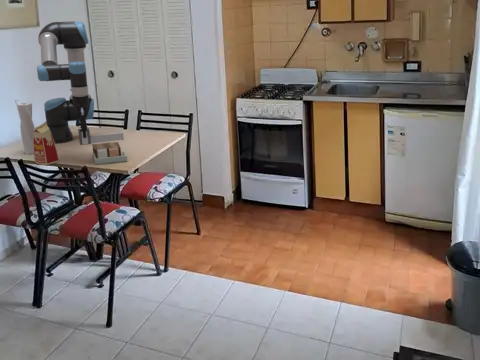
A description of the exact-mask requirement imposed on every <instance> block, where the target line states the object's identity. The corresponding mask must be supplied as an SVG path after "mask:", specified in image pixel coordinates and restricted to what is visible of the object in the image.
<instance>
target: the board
mask: <svg viewBox="0 0 480 360" xmlns="http://www.w3.org/2000/svg"><path fill="white" fill-rule="evenodd" d="M91 146H92V153H93V154H95V157H96V158H98V155H97V150H98V149H107V156H108V157H109V148H118V150H119V156H122V151H121V149H122V148H121V146H120V143H119V142H118V141H116V142H115V141H112V142H100V143H91ZM93 154H92V155H93Z"/></svg>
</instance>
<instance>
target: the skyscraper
mask: <svg viewBox="0 0 480 360" xmlns="http://www.w3.org/2000/svg"><path fill="white" fill-rule="evenodd" d="M14 102H15V104H16V108H17V112H18V116H19V119H20V121H19V122H20V136H21V140H22V146H23V149H24V153H25V155H32V154H33V155H34V143H33V142H34V131H35V124H34V120H33V103H32V102H31V101H22V100H20V99H19V100H18V99H15V100H14ZM17 102H20V103H19V104H18V103H17Z"/></svg>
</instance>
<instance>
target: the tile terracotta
mask: <svg viewBox="0 0 480 360" xmlns="http://www.w3.org/2000/svg"><path fill="white" fill-rule="evenodd" d="M117 156H119V150H118V148H109V157H117Z"/></svg>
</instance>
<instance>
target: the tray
mask: <svg viewBox="0 0 480 360" xmlns="http://www.w3.org/2000/svg"><path fill="white" fill-rule="evenodd" d="M92 155H93V161H94V164H95V166H97V165H107V164H109V165H110V164H117V163H126V162H127V163H128V161H127V160H128V159H127V155H126V153H125V150H122V155H121V156H117V157H107V158H96V157H95V154H92Z"/></svg>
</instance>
